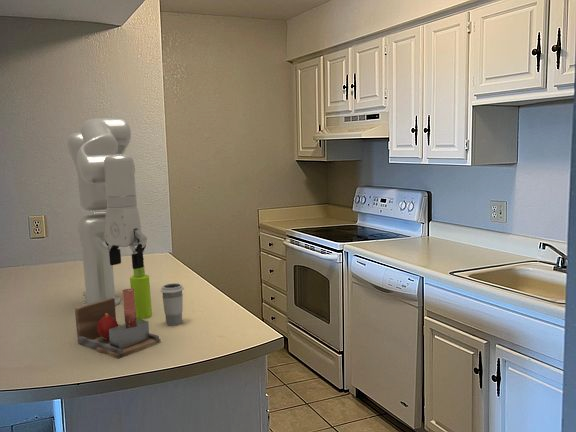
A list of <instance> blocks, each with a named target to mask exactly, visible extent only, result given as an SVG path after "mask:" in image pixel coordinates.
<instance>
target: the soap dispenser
mask: <svg viewBox="0 0 576 432" xmlns="http://www.w3.org/2000/svg"><path fill="white" fill-rule="evenodd" d="M144 259H145V258H144V257H143V261H145V260H144ZM129 280H130V281H129V282H130V289H134V294H135V307H136V320H138V319H141V320H143V319H144V320H145V319H149V318H151V317H152V314H153V313H152V301H151V300H152V299H151V298H152V297H151V286H150V276H149V274H146V271H145V266H144V267H142V268H138V269H133V275H131V276H130V277H129Z"/></svg>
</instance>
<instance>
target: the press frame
mask: <svg viewBox="0 0 576 432" xmlns="http://www.w3.org/2000/svg"><path fill="white" fill-rule="evenodd" d="M105 313H108V314H109V315H110V316H111V317H113V318H114V319H115V320H116V321H117V313H116V305H115V299H114V298H109V299H105V300H102V301H98V302H95V303H91V304H88V305H85V306H82V305H81V306H78V307H74V315H75V323H76V324H75V325H76V335H77V336H76V337H77V343H78V344H79V345H81V346H84V347H87V348H90V349H92V350H95V351H96V352H98V353H101V354H103V355H106V356H109V357H112V358H115V359H121V358H124V357H127V356H128V355H132V354H135V353H137V352H139V351H143V350H145V349H147V348H149V347H152V346H155V345H158V344H160V343H161V342H162V341H161V338H160V336H159V335H156V334H155V333H150V332H149V338H150V339H148V340H145V341H142V342H140V343H137V344H134V345H132V346H129V347H126V348H124V349H119V348H116V347H113V346H110V342H109V343H104V342H101V341H99V340H95V339H98V338H100V337H101V336H100V335H99V334H98V332H97V325H98V322H99V321H100V319H101V318H103V317H104V314H105ZM120 325H121V324H120V323H118V326H120ZM101 338H102V337H101ZM157 343H158V344H157Z"/></svg>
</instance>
